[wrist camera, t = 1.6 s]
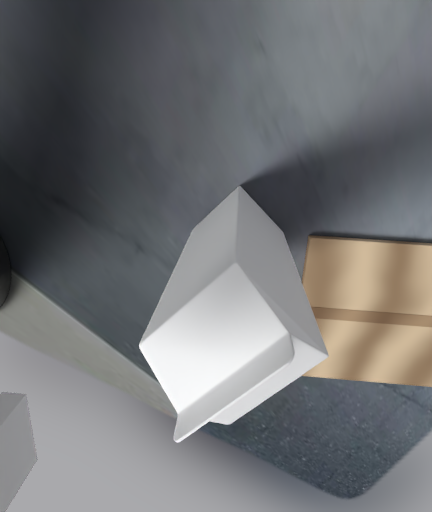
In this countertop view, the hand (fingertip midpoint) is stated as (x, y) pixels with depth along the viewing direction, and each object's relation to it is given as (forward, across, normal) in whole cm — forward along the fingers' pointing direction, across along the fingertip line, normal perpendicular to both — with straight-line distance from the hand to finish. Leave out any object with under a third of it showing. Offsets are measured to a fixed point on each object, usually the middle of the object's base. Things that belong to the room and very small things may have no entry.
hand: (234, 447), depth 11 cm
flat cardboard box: (+24, +14, -7) cm, 28 cm away
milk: (+24, 0, 0) cm, 24 cm away
